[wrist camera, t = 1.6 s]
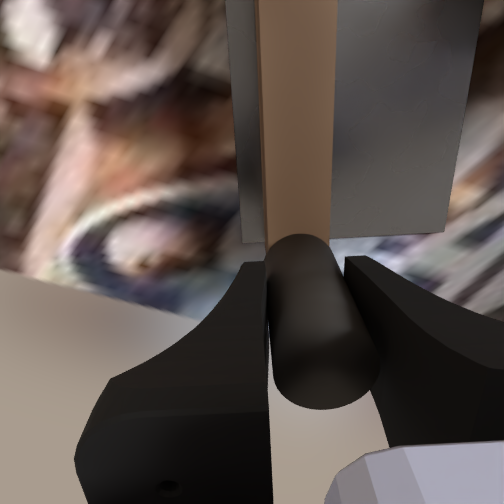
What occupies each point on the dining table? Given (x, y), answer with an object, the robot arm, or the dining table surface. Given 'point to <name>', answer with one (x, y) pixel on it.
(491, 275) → the dining table surface
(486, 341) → the robot arm
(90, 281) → the dining table surface
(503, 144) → the dining table surface
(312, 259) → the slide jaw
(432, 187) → the vice frame
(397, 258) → the dining table surface
